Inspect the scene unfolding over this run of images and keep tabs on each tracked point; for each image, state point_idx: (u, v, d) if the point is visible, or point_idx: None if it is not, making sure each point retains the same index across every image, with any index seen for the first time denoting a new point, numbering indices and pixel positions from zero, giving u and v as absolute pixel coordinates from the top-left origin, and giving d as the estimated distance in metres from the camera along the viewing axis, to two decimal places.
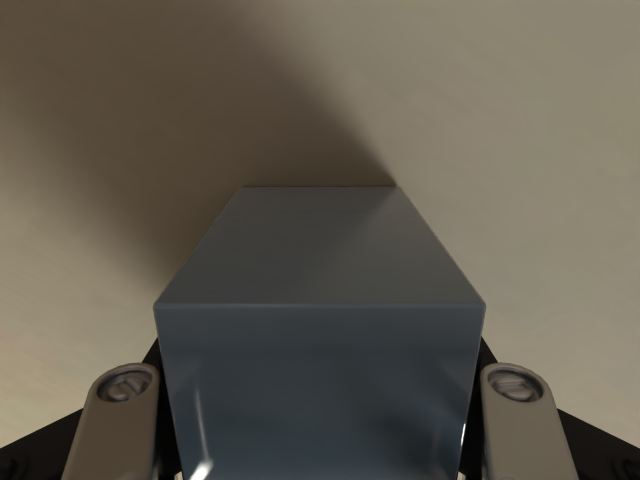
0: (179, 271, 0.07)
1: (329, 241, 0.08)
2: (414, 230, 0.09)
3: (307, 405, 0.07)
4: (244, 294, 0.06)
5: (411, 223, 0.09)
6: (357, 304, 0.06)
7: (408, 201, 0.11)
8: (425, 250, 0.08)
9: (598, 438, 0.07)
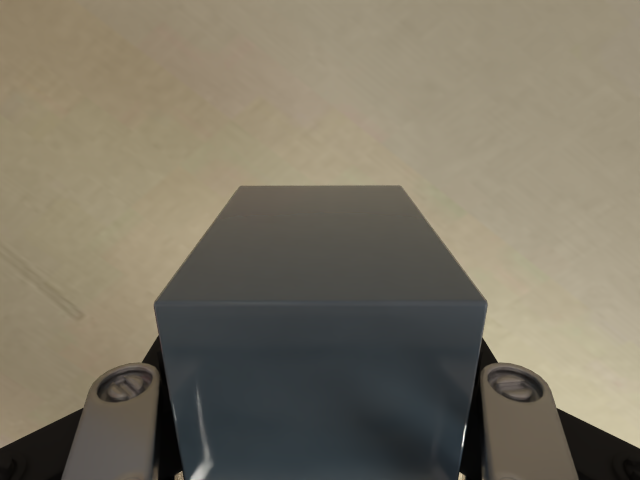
0: (180, 269, 0.07)
1: (331, 240, 0.08)
2: (415, 229, 0.09)
3: (308, 403, 0.07)
4: (244, 292, 0.06)
5: (412, 222, 0.09)
6: (358, 302, 0.06)
7: (409, 200, 0.11)
8: (426, 248, 0.08)
9: (598, 438, 0.07)
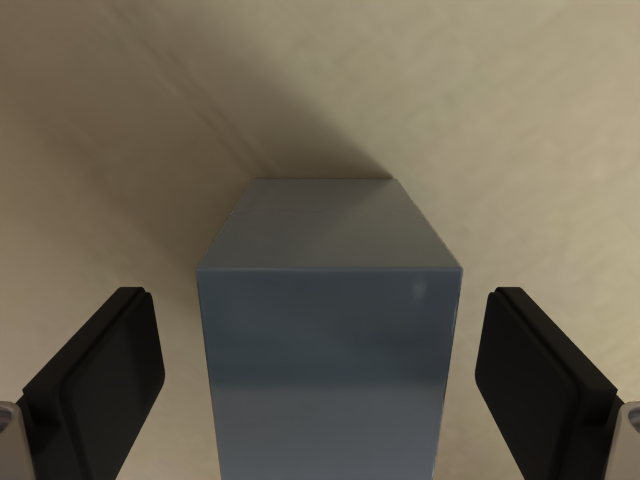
0: (212, 244, 0.09)
1: (335, 223, 0.10)
2: (408, 214, 0.11)
3: (318, 353, 0.08)
4: (267, 261, 0.08)
5: (405, 209, 0.11)
6: (359, 267, 0.08)
7: (403, 191, 0.13)
8: (416, 230, 0.10)
9: None
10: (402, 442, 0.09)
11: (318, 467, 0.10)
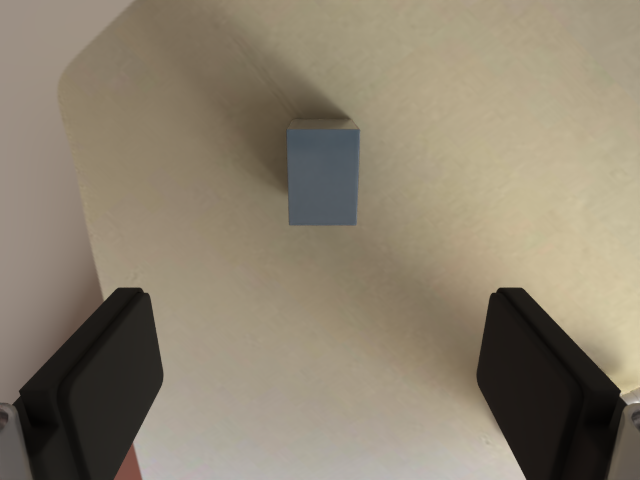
0: (288, 127, 0.29)
1: (325, 125, 0.30)
2: (350, 124, 0.31)
3: (320, 157, 0.29)
4: (306, 128, 0.28)
5: (350, 123, 0.31)
6: (331, 129, 0.28)
7: (352, 121, 0.33)
8: (351, 125, 0.30)
9: None
10: (346, 191, 0.30)
11: (320, 201, 0.30)
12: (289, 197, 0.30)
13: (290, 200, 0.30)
